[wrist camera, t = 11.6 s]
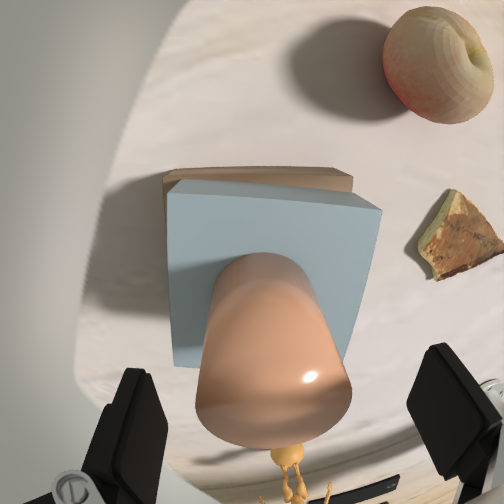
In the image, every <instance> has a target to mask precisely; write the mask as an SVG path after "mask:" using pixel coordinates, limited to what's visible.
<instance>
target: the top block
mask: <svg viewBox="0 0 504 504" xmlns="http://www.w3.org/2000/svg"><path fill="white" fill-rule="evenodd" d="M381 215H382V210H381V209H379V208H378V207H376V206H375V205H373V204H371V203H370V202H368V201H366V200H365V199H363V198H361V197H360V196H358V195H356V194H355V193H350V192H342V191H334V190H325V189H316V188H306V187H296V186H286V185H275V184H263V183H249V182H235V181H218V180H198V179H182V180H181V181H179V182H178V183H177V184H176V185H175V186H174V187H173V188H172V189H171V190H170V191H169V192H168V193H167V257H168V287H169V307H170V323H171V337H172V349H173V360H174V366H177V367H188V368H200V366H201V359H202V352H203V345H204V339H205V332H206V326H207V320H208V313H209V307H210V301H211V295H212V289H213V286H214V283H215V281H216V279H217V277H218V275H219V274H220V273H221V271H222V270H223V269H224V268H225V267H226V266H227V265H228V264H230V263H231V262H233V261H234V260H236V259H238V258H240V257H242V256H245V255H248V254H253V253H260V252H264V253H275V254H279V255H282V256H285V257H287V258H289V259H291V260H293V261H294V262H295V263H297V264H298V265H299V266H300V267H301V268H302V269H303V270H304V272H305V273H306V275H307V276H308V278H309V281H310V283H311V285H312V288H313V290H314V292H315V295H316V297H317V300H318V302H319V305H320V307H321V309H322V312H323V314H324V317H325V319H326V322H327V324H328V327H329V329H330V332H331V334H332V337H333V339H334V342H335V344H336V347H337V349H338V352H339V355H340V357H341V360H342V362H343V359H344V356H345V353H346V350H347V347H348V344H349V341H350V338H351V335H352V331H353V328H354V325H355V321H356V318H357V315H358V311H359V308H360V304H361V301H362V297H363V293H364V289H365V286H366V282H367V278H368V274H369V270H370V266H371V262H372V257H373V253H374V249H375V244H376V240H377V235H378V230H379V225H380V220H381Z"/></svg>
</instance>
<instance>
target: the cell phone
mask: <svg viewBox="0 0 504 504" xmlns="http://www.w3.org/2000/svg"><path fill="white" fill-rule="evenodd" d="M399 479H400V475H399V474H398V475H395V476H392V477H390V478H387V479H384V480H381V481H379V482H376V483H373V484H370V485H367V486H364V487H360V488H357V489H354V490H350V491H347V492H343V493H340V494H336V495H332V496H330V498H329V501H328V504H355V503H358V502H362V501H365V500H368V499H371V498H374V497H377V496H380V495H383V494H385V493H388V492H391V491H393V490H395V489H396V487H397V484H398V481H399ZM324 501H325V497H324V498H320V499H316V500H311V501H309V504H324Z"/></svg>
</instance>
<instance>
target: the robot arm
mask: <svg viewBox="0 0 504 504" xmlns="http://www.w3.org/2000/svg"><path fill="white" fill-rule="evenodd" d="M503 393H504V385H503V383H502V382H501V381H500V380H491V381H489V382H486V383H484V384H482V385H481V386H479V384H478V383H477V382H476V380H475V379H474V378H473V376H472V375H471V374H470V372H469V371H468V370H467V368H466V367H465V366H464V364H463V363H462V362H461V361H460V359H459V358H458V357H457V355H456V354H455V353H454V352H453V350H452V349H451V348H450V347H449V345H448V344H447V343H440V344H435V345H431V346H430V347H429V349H428V350H427V351H426V352H425V355H424V357H423V360H422V363H421V366H420V369H419V371H418V374H417V376H416V379H415V382H414V384H413V387H412V389H411V392H410V394H409V396H408V399H407V409H408V411H409V413H410V415H411V417H412V419H413V421H414V423H415V425H416V427H417V429H418V431H419V433H420V435H421V437H422V439H423V441H424V444H425V446H426V448H427V450H428V452H429V454H430V456H431V458H432V461H433V463H434V465H435V467H436V469H437V472H438V473H439V475H441V476H443V477H444V480H445V481H447V480H449V479H451V478H453V477H456V476H457V475H458V476H459V479H460V482H459V485H458V488H457V491H456V494H455V497H454V500H453V503H452V504H504V400H503V399H502V398H501V397H502V395H503ZM167 434H168V422H167V419H166V417H165V414H164V411H163V409H162V406H161V403H160V400H159V397H158V395H157V392H156V389H155V386H154V383H153V380H152V377H151V374H150V373H146V372H145V370H144V369H139V368H127V369H126V370H125V372H124V374H123V377H122V379H121V382H120V384H119V387H118V389H117V392H116V394H115V397H114V399H113V402H112V404H107V405H106V406H105V407H104V409H103V412H102V414H101V417H100V419H99V422H98V425H97V427H96V430H95V433H94V435H93V438H92V441H91V443H90V446H89V449H88V452H87V454H86V457H85V460H84V463H83V466H82V469H81V471H78V470H68V471H64V472H62V473H60V474H59V475H58V476H57V477H56V478H55V479H54V482H53V484H52V492H50V493H48V494H46V495H43V496H41V497H39V498H36V499H34V500H32V501H29V502H26V503H24V504H155V503H156V497H157V491H158V484H159V479H160V473H161V467H162V461H163V456H164V450H165V445H166V439H167Z"/></svg>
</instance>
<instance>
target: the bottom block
mask: <svg viewBox="0 0 504 504" xmlns="http://www.w3.org/2000/svg"><path fill="white" fill-rule="evenodd" d="M182 179H198V180H218V181H235V182H249V183H263V184H275V185H286V186H296V187H306V188H316V189H325V190H334V191H342V192H350V193H352V187H353V176H351V175H349V174H346V173H344V172H342V171H340V170H337V169H335V168H327V167H292V166H241V167H206V168H184V169H175V170H173V171H172V172H170V173H169V174H167V175H166V176H164V177H163V178H162V180H163V195H164V208H165V219H166V230H167V193H168V192H169V191H170V190H171V189H172V188H173V187H174V186H175V185H176V184H177V183H178V182H179V181H181V180H182Z"/></svg>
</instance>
